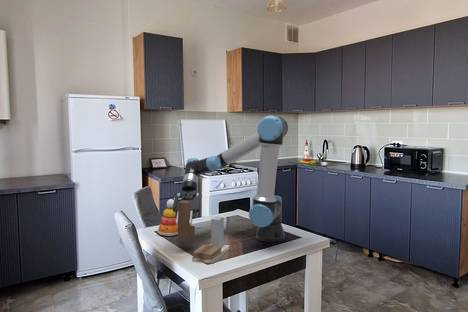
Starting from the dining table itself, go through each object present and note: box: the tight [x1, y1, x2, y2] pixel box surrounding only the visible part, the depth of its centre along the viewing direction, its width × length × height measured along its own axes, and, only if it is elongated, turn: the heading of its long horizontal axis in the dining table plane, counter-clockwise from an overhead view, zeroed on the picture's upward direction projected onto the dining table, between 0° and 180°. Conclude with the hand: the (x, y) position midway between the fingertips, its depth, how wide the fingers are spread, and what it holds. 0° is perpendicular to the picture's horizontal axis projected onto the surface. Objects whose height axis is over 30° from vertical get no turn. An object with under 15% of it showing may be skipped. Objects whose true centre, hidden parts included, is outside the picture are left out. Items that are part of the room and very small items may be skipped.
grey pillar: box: [210, 215, 225, 247], centre depth 169 cm, size 4×6×14 cm, turn 161°
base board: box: [191, 242, 231, 265], centre depth 163 cm, size 10×21×4 cm, turn 161°
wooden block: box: [177, 200, 196, 241], centre depth 169 cm, size 9×4×18 cm, turn 156°
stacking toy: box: [156, 198, 178, 237], centre depth 196 cm, size 14×14×20 cm
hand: (183, 224), depth 166 cm, fingers closed on wooden block, 6 cm apart
